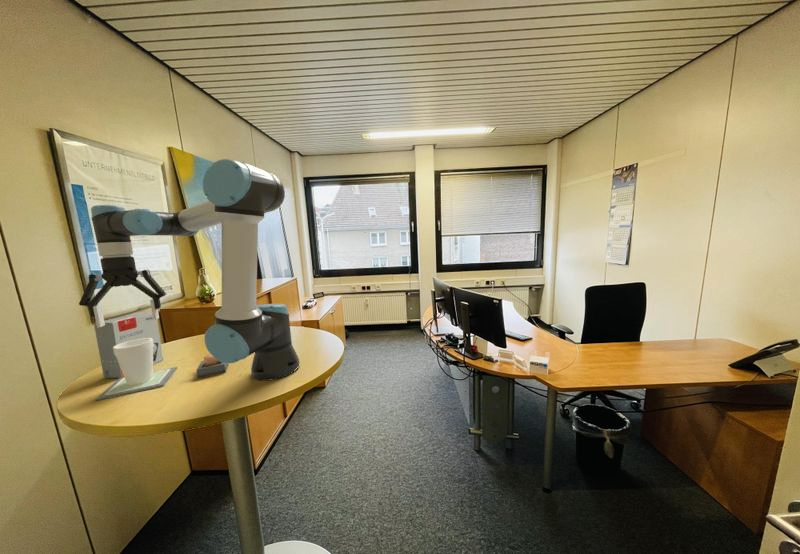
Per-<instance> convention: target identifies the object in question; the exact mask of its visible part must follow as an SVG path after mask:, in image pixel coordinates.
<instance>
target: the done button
mask: <svg viewBox="0 0 800 554" xmlns="http://www.w3.org/2000/svg"><path fill="white" fill-rule="evenodd" d="M203 361H204V362H205V367H207V366H212V365H217V364H220V363H221V362H220V361H218V360H217V359H215V358H214V357H213V356H212V354H210V353H209V354H207V355H204V356H203Z"/></svg>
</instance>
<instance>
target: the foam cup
mask: <svg viewBox="0 0 800 554" xmlns="http://www.w3.org/2000/svg"><path fill="white" fill-rule="evenodd" d="M153 347H154V344H153V339H152V338H143V339H136V340H132V341H127V342H124V343H121V344H118V345H116V346H114V347H113V350H114V355H116V358H117V360H118V363H119V365H120V368H121V370H122V373H123V375H124V378H125V380H126V383H127V385H129V386H133V385H138V384H142V383H145V382H147V381H150V380H151V379H153V371H154V364H153Z"/></svg>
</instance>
